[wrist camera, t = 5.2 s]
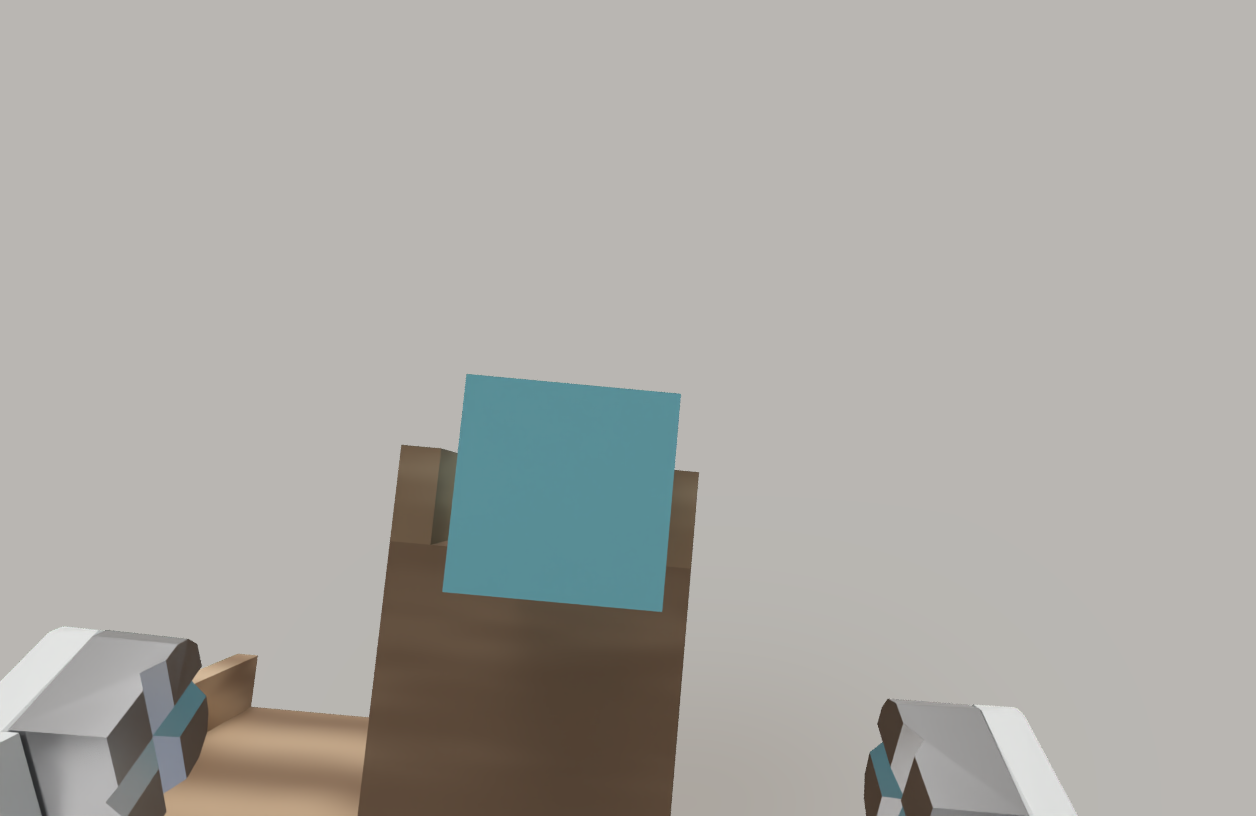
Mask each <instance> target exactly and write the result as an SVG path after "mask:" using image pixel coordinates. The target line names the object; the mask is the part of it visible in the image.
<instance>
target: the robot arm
mask: <svg viewBox="0 0 1256 816" xmlns="http://www.w3.org/2000/svg"><path fill="white" fill-rule="evenodd" d="M201 667H202V665H201V660H200V655H199V651H198V646H197V644H196V643H194V642H193V641H191V640H189V639H183V638H174V637H165V636H155V635H147V634H138V633H129V632H120V631H110V630H105V631H100V630H93V629H84V628H75V627H66V626H63V627H60V628H58V629H55V630H53V631H50V632H49V633H48V634H47V635H46V636H45V637H44V638H43V639H42V640H41V641H40V642H39V643H38V644H37V645H36V646H35V647H34V648H33V649H32V650H31V651H30V652H29V653H28V654H27V655H26V656H25V657H24V658H23V659H22V660H21V661H20V662H19V663H18V664H17V665H16V666H15V667H14V668H13V669H12V670H11V671H10V672H9V673H8V674H7V675H6V676H5V677H4V678H3V679H2V680H1V681H0V816H164V815H165V813H166V812H167V811H166V805H165V800H164V793H165V792H167V791H168V790H170V789H172V788H173V787H175V786H176V785H178V784H179V783H181V782H182V781H184V780H186V779H187V777H188V776H189V774H190V772H191V771H192V769H193V767H194V765H195V764H196V762H197V760H198V759H199V756H200V753H201V750H202V747H203V744H204V741H205V737H206V734H207V727H208V714H209V712H208V704H207V697H206V695H205V694H204V693H203V692H202V691H201V690H200V689H199V688H198V687H197V686H196V685H195V684H194V683H193V681H192V680H193V678H194V677H195V675H196V674H197V673H198V671H199V670H200V668H201ZM878 728H879V731H880V734H881V737H882V741H883V742H882V743H881V744H880V745H878V746H877V747H876V748H875V749H874V750H872V751H871V752H870V754H869V758H868V763H867V767H866V772H865V785H864V788H865V789H864V801H865V809H866V816H1078V815H1077V813H1076V811H1075V809H1074V807H1073V805H1072V804H1071V802H1070V800H1069V798H1068V796H1067V794H1066V792H1065V790H1064V789H1063V787H1062V785H1061V783H1060V781H1059V779H1058V777H1057V775H1056V774H1055V772H1054V770H1053V768H1052V766H1051V764H1050V762H1049V760H1048V759H1047V757H1046V755H1045V753H1044V751H1043V750H1042V747H1041V746H1040V744H1039V742H1038V740H1037V738H1036V736H1035V734H1034V732H1033V731H1032V729H1031V727H1030V725H1029V723H1028V721H1027V720H1026V718H1025V716H1024V714H1023V713H1022V712H1020V711H1019V710H1018V709H1017V708H1015V707H1002V706H986V705H972V706H969V705H962V704H950V703H937V702H925V701H911V700H899V699H887V701H886V702H885V704H884V705H883V707H882V709H881V713H880V716H879V720H878Z"/></svg>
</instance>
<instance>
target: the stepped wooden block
mask: <svg viewBox="0 0 1256 816" xmlns="http://www.w3.org/2000/svg"><path fill="white" fill-rule="evenodd" d="M457 456H458V453H455V452H452V451H448V450H445V449H441V448H430V447H419V446H408V445H401V453H400V462H399V470H398V478H397V487H396V495H395V504H394V512H393V521H392V530H391V538H390V546H389V555H388V564H387V572H386V580H385V588H384V597H383V605H382V613H381V622H380V630H379V639H378V647H377V657H376V664H375V672H374V681H373V689H372V698H371V706H370V715H369V717H358V716H346V715H335V714H323V713H313V712H302V711H291V710H280V709H268V708H258V707H251V702H252V695H253V687H254V679H255V672H256V665H257V657H258V656H256V655H245V654H236V655H234V656H231V657H229V658H227V659H224V660H222V661H219V662H217V663H215V664H212V665H210V666H208V667H205V668H203V669H200V670H199V671H198V673H197V674H196V675H195V677H194V678H193V680H192V681H193V683H194V684H195V685H196V686H197V687H198V688H199V689H200V690H201V691H202V692H203V693H204V694H205V695H206V697H207V704H208V712H209V714H208V727H207V734H206V737H205V741H204V744H203V747H202V750H201V753H200V756H199V759H198V760H197V762H196V764H195V765H194V767H193V769H192V771H191V772H190V774H189V776H188V777H187V779H186V780H184V781H182V782H181V783H179V784H178V785H176V786H175V787H173V788H172V789H170V790H168V791H167V792H165V793H164V800H165V805H166V811H167V812H166V813H165V815H164V816H670V815H671V803H672V791H673V779H674V766H675V754H676V743H677V731H678V719H679V706H680V694H681V681H682V670H683V658H684V646H685V634H686V622H687V610H688V598H689V586H690V573H691V562H692V550H693V538H694V537H693V536H694V525H695V513H696V500H697V489H698V477H699V472H690V471H679V470H674V480H673V491H672V503H671V515H670V526H669V538H668V550H667V561H666V573H665V585H664V596H663V608H662V612H657V611H646V610H635V609H624V608H613V607H602V606H591V605H580V604H569V603H558V602H547V601H536V600H525V599H514V598H503V597H492V596H481V595H470V594H459V593H448V592H442V590H443V581H444V572H445V563H446V554H447V545H448V536H449V527H450V518H451V509H452V500H453V491H454V482H455V473H456V464H457Z"/></svg>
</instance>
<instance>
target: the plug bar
mask: <svg viewBox="0 0 1256 816" xmlns="http://www.w3.org/2000/svg"><path fill="white" fill-rule="evenodd" d="M680 398H681V394H676V393H665V392H654V391H644V390H633V389H622V388H611V387H600V386H590V385H578V384H569V383H558V382H547V381H536V380H526V379H514V378H504V377H493V376H482V375H472V374H467V375H466V384H465V393H464V402H463V411H462V421H461V429H460V438H459V447H458V456H457V464H456V473H455V482H454V491H453V500H452V509H451V518H450V527H449V536H448V545H447V554H446V563H445V572H444V581H443V590H442V592H448V593H459V594H470V595H481V596H492V597H503V598H514V599H525V600H536V601H547V602H558V603H569V604H580V605H591V606H602V607H613V608H624V609H635V610H646V611H657V612H662V608H663V596H664V585H665V573H666V561H667V550H668V538H669V526H670V515H671V503H672V491H673V480H674V468H675V456H676V445H677V433H678V421H679V410H680Z"/></svg>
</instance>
